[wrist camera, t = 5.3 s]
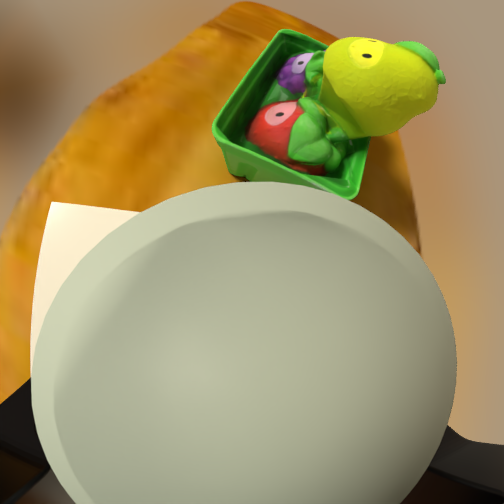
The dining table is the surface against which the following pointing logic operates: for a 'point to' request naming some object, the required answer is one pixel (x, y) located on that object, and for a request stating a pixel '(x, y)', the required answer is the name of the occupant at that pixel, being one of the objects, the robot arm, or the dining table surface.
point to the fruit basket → (322, 108)
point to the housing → (67, 251)
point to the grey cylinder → (245, 356)
